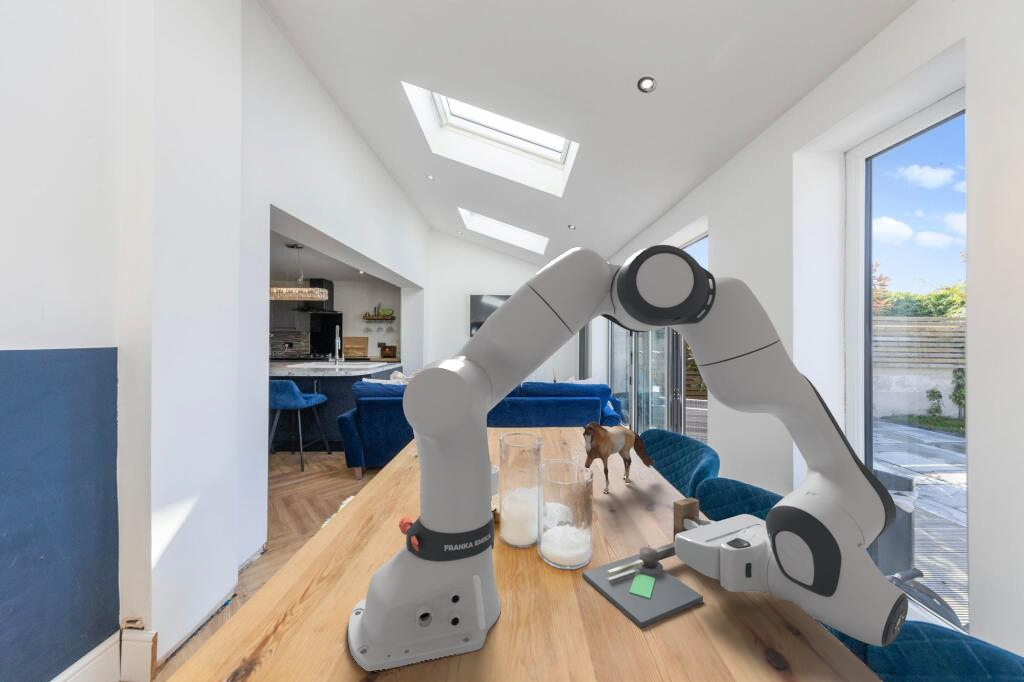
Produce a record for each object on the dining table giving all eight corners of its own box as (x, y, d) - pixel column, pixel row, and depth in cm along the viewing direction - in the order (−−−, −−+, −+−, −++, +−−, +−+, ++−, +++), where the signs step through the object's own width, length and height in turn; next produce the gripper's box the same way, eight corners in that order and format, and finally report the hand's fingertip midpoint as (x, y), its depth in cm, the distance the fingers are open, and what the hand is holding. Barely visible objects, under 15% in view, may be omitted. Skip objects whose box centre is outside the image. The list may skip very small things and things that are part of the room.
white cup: (494, 517, 92) (494, 475, 92) (463, 514, 94) (463, 472, 94) (501, 504, 100) (502, 465, 100) (472, 501, 101) (473, 463, 101)
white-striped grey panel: (641, 628, 56) (641, 620, 56) (582, 576, 69) (582, 570, 69) (706, 599, 63) (706, 592, 63) (641, 557, 75) (641, 551, 75)
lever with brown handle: (614, 581, 65) (615, 524, 65) (602, 571, 68) (602, 517, 68) (702, 551, 75) (702, 501, 75) (687, 543, 78) (688, 496, 78)
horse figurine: (587, 504, 100) (588, 425, 100) (566, 494, 106) (566, 420, 107) (655, 480, 119) (656, 413, 119) (634, 473, 125) (634, 410, 125)
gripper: (800, 524, 66) (724, 495, 78) (723, 552, 56) (650, 514, 69) (800, 561, 66) (724, 527, 78) (723, 595, 56) (650, 550, 69)
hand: (688, 521), depth 73 cm, fingers closed
